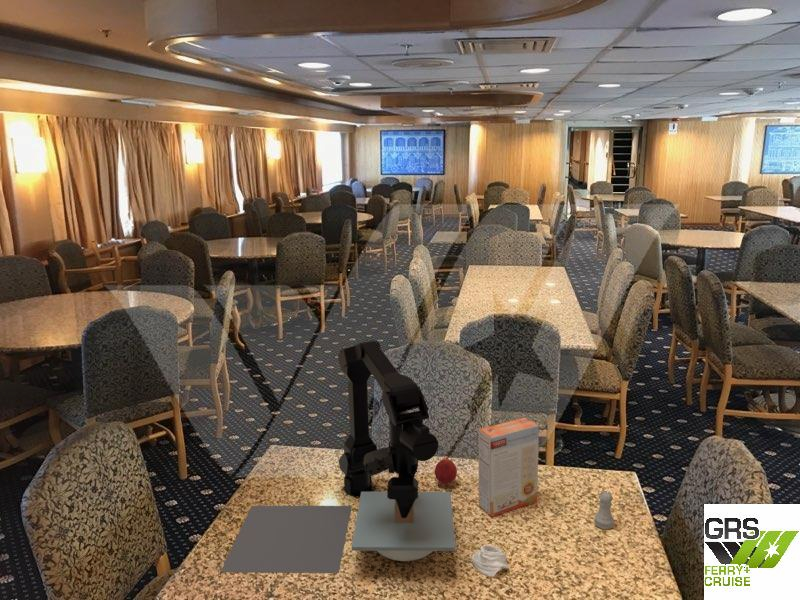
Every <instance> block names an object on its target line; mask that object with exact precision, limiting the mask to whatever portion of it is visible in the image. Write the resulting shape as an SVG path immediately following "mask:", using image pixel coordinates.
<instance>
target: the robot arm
mask: <svg viewBox="0 0 800 600" xmlns="http://www.w3.org/2000/svg"><path fill="white" fill-rule="evenodd" d="M337 359H338V361H337V362H338V364H339V368H340V370H341V372H342V374H343V376H344V377H345V378H346V380H347V389H348V390H347V392H348V395H347V396H348V416H349V417H348V418H349V435H348V437H347V439H346V440H345V441H344V445H343V453H342V454H341V456H340V458H339V459H338V465H339V469H340V470H341V472H342V473H343V475H344V477H343V487H342V488H341V490H343V491H344V492H345V493H347V494H349V496H351V497H352V496H353V497H354V498H356V499H358V498H359V499H360V496H361V492H374V491H375V490H376V489H377V487H375V486H373V485H372V483H373V481H372V479H373V478H372V477H373V476H376V475H378V474H381V473H382V472H385V471H387V472H388V474H394V473H395V474H396V475H398V476H392V477H391V478H390V479H388V480H387V489H386V490H387V491H386V492H387V498H389V499H395V500H396V502H397V505H398V508H399V511H400V515H401V518H407V516H408V514H409V512H410V509H411V507H412V505H413V503H414V501H415V500H416V499H417V498H418V492H419V480H417V478H415V476H416V473H418V468H419V461H420V462H426V461H429V460H431V459H432V458H433V457H434V456H435V455H436V453H437V452H438V450H439V445H440V444H439V441H438V439H437V436H435V435H434V434H433V433H432V432H431V431H430V427H429V426H428V425H426V424H424V423H423V421H425V420H428V419H430V414H429V412H428V411H429V407H428V404H427V401H426V399H425V396H424V394H423V392H422V390H421V387H420V386H418V384H417V383H416V381H414V380H413V379H412V378H411V377H410V376H407V375H403V374H401V373H400V372H398V370H397V369H396V367H395V365H393V363H392V362H391V360H390V358H388V356H387V355H386V354H385V352H384V351H383V350H382V349H381V345H380V343H379V341H378V340H367V341H361V342H359V343H356V344H354V345H351V346H345V347H342V348H341V350H340V351H339V353H337ZM371 376H372V377H373V378H374V379H375V381H376V382H377V384H378V385H379V387H380V389H381V390H382V394H381V400H382V404H383V407H384V409H385V412H386V415H388V418H389V419H388V423H389V424H388V425H389V428H388V429H389V441H388V446H387V447H381V448H379V449H378V446H377V444H376V443H375V442H374V441H373V439H372V438H371V436H370V427H369V426H370V424H369V423H370V422H369V418H370V417H369V396H368V395H369V394H368V393H369V392H368V381H369V379H370V377H371ZM415 409H418V410H416V411H413V410H415ZM410 411H412V412H410Z"/></svg>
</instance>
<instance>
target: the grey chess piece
mask: <svg viewBox="0 0 800 600" xmlns="http://www.w3.org/2000/svg"><path fill="white" fill-rule="evenodd" d="M597 497H598V499H599V501H598V503H599V508H598V512H597V513H596V514H595V516H594V520H593V522H594V525H595V526H596V527H597V528H599V529H602V530H610V529H612V528H613V527H614V526H615V524H614V523H615V520H614V519H615V518H614V517H613V514H612V511H611V506H613V504H612V501H613V500H614V497H613V496H612V493H611V492H610V491H608V492H607V490H602V491H600V492H599V494H598V496H597Z"/></svg>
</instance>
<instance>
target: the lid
mask: <svg viewBox="0 0 800 600" xmlns="http://www.w3.org/2000/svg"><path fill="white" fill-rule="evenodd" d="M453 516H454V515H453V504H452V492H451V491H418V498H417V499H416V500H415V501H414V503H413V505H412V507H411V509H410V512H409V514H408V516H407V518H401V515H400V511H399V508H398V505H397V502H396V500H395V499H389V498H387V491H371V492H361V496H360V497H359V503H358V508H357V514H356V520H355V525H354V531H353V535H352V543H351V551H352V552H353V551H357V552H359V551H360V552H361V551H363V552H364V551H368V552H369V551H371V552H374V551H375V552H377V551H433V552H455V551H456V539H455V529H454V528H455V527H454V517H453Z"/></svg>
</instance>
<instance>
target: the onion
mask: <svg viewBox="0 0 800 600" xmlns="http://www.w3.org/2000/svg"><path fill="white" fill-rule="evenodd" d="M456 466H457V465H456V464H455V463H454V462H453V461H452V459H451V460H450V459H449V456H447V455H445V456H444V457H443V458H442V459H441V460H440V461H439V462H437V464H436V465H435V468H434V476H435V478H436V480H437V481H438V482H439V483H441V484H442V485H445V486H446V485H447V486H448V485H450V484H451V483H452V482H453V481H454V480H456V478H457V474H458V469H457V467H456Z"/></svg>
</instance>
